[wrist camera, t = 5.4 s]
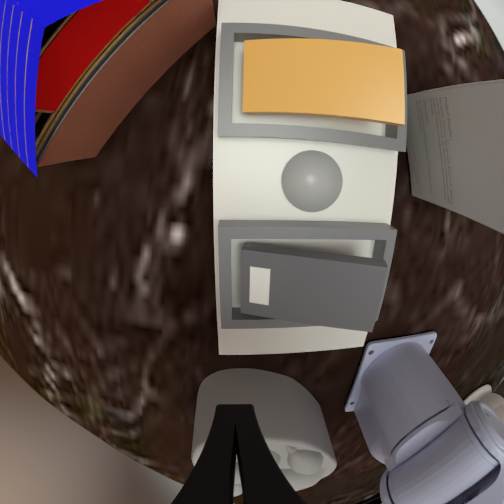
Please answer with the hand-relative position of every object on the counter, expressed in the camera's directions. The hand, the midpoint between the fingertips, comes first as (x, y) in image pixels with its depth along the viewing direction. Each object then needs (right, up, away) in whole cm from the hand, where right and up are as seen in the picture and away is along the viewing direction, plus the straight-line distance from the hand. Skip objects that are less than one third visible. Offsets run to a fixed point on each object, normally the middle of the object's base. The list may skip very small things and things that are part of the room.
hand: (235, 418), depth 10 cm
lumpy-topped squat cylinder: (+1, -8, +15) cm, 17 cm away
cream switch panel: (+4, +11, +7) cm, 14 cm away
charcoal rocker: (+4, +5, +5) cm, 8 cm away
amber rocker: (+4, +14, +1) cm, 15 cm away
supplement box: (+15, +15, +7) cm, 22 cm away
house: (-12, +23, +2) cm, 26 cm away
